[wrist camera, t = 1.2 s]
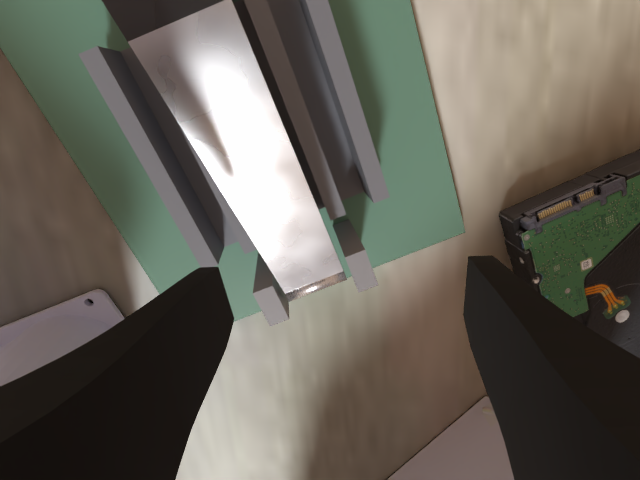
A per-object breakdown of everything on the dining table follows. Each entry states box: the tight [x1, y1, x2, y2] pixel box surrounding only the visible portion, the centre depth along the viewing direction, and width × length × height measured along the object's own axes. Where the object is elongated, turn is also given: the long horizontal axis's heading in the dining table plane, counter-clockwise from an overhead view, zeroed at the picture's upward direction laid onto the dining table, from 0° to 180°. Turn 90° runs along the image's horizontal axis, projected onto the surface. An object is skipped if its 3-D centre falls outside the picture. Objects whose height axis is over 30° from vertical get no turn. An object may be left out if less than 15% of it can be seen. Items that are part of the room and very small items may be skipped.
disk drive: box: [499, 149, 640, 358], centre depth 24 cm, size 10×3×15 cm
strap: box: [102, 0, 347, 302], centre depth 14 cm, size 3×14×1 cm, turn 20°
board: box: [0, 0, 465, 326], centre depth 17 cm, size 18×20×5 cm
